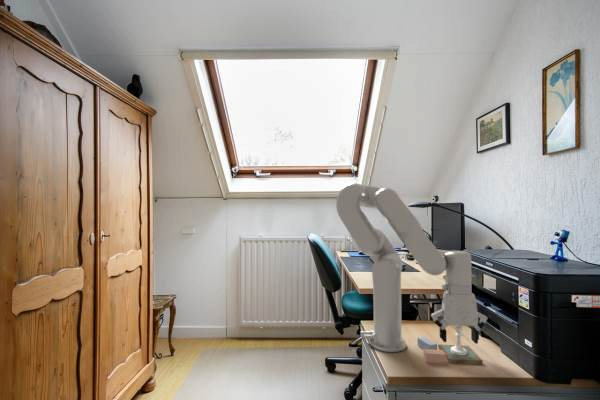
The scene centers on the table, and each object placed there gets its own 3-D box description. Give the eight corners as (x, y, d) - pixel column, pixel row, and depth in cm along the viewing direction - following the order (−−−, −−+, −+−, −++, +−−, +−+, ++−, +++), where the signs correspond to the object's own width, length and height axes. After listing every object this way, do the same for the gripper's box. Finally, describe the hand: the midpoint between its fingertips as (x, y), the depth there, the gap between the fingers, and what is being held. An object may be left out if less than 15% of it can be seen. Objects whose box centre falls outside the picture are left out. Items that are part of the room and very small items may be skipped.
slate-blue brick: (437, 352, 105) (437, 343, 105) (429, 354, 104) (429, 345, 104) (424, 345, 111) (424, 336, 111) (417, 346, 110) (417, 337, 110)
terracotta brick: (425, 362, 98) (425, 353, 98) (423, 358, 101) (423, 348, 101) (445, 364, 98) (445, 354, 98) (442, 359, 100) (442, 350, 101)
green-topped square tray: (448, 362, 98) (448, 358, 98) (438, 348, 108) (438, 344, 108) (482, 364, 97) (482, 360, 97) (468, 349, 107) (468, 345, 107)
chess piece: (469, 356, 100) (469, 324, 100) (452, 354, 100) (452, 323, 101) (464, 349, 104) (464, 319, 104) (448, 347, 105) (448, 318, 105)
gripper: (434, 291, 100) (435, 345, 100) (492, 292, 98) (492, 347, 98) (427, 285, 107) (428, 335, 107) (481, 286, 105) (481, 337, 105)
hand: (459, 341), depth 102 cm, fingers open, 9 cm apart
